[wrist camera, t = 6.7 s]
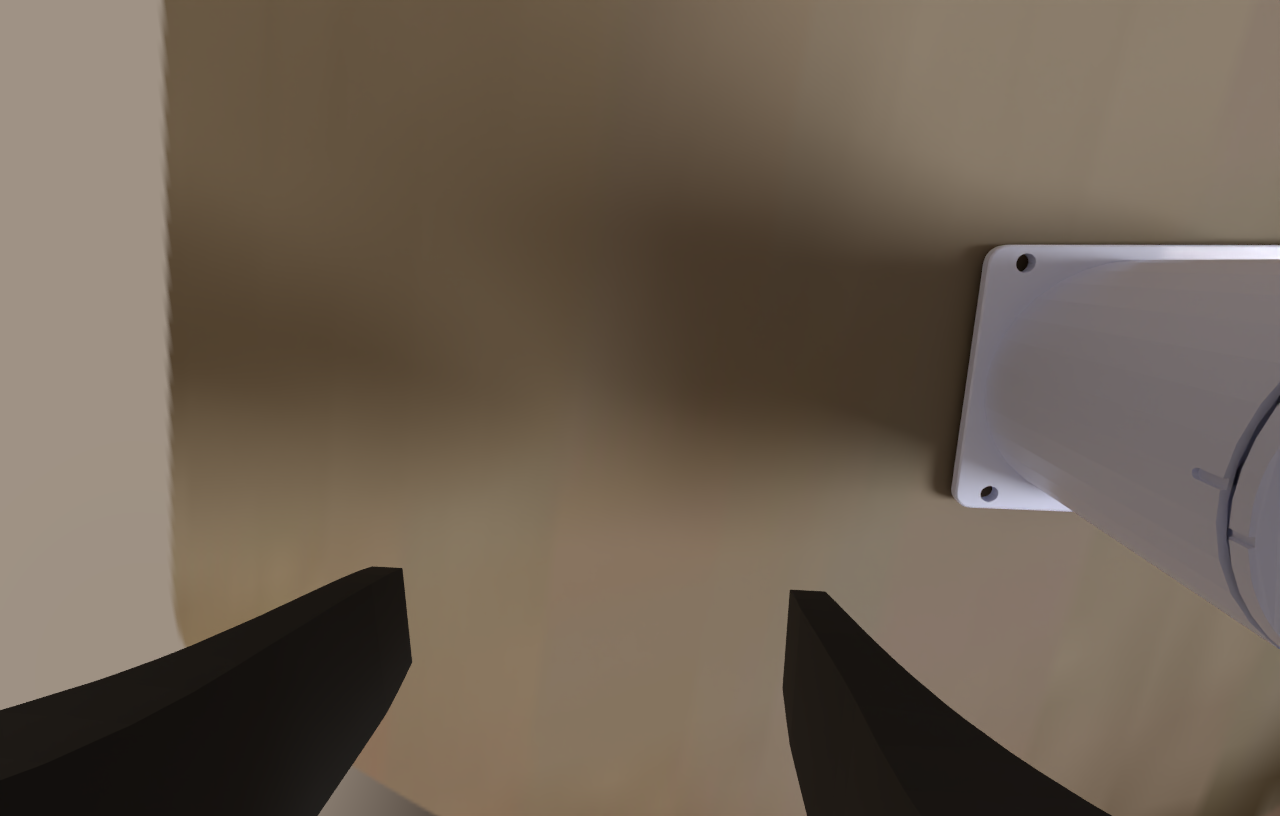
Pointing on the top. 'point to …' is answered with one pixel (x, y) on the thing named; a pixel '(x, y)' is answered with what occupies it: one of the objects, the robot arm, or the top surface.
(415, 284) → the top surface
